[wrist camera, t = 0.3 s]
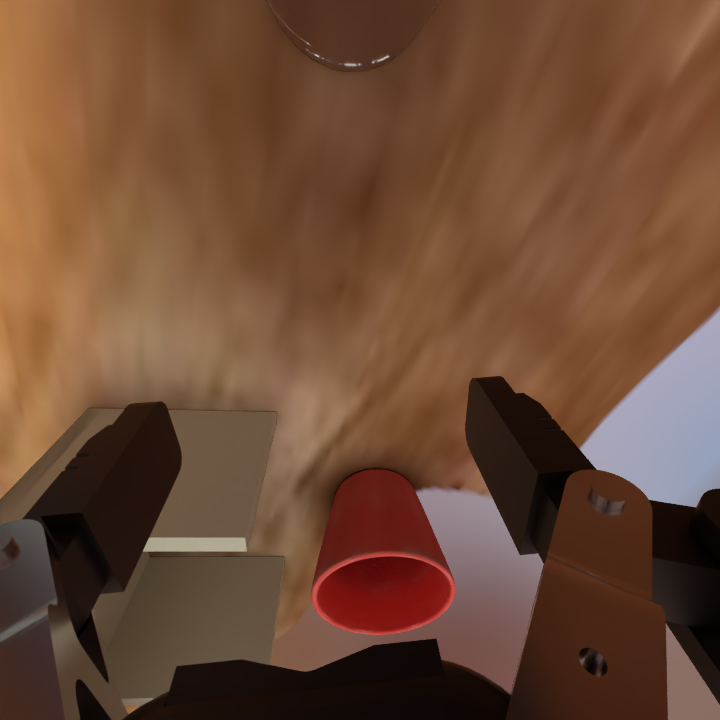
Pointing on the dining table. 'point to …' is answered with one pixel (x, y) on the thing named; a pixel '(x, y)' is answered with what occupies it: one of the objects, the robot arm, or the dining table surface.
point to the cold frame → (184, 533)
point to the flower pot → (380, 559)
